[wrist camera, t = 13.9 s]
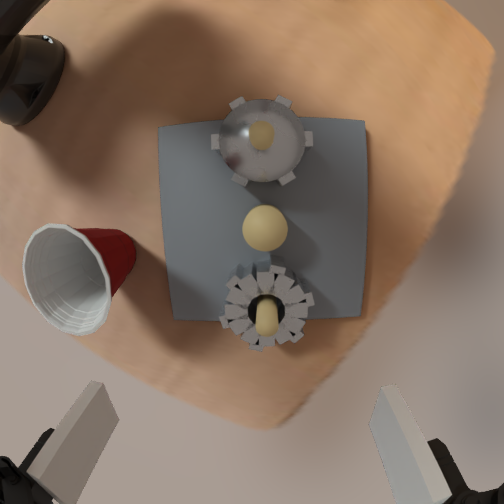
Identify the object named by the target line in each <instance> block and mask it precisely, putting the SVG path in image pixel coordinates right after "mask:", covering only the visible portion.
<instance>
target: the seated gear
mask: <svg viewBox="0 0 504 504" xmlns="http://www.w3.org/2000/svg"><path fill="white" fill-rule="evenodd" d="M291 105H292V101H290V100H288V99H286V98H284V97H282V96H280V95H278V96H277V98H276V100H275V101H273V100H267V99H256V100H251V101H247V102H246V101H245V100H244V98H243V97H242V96H241V97H239V98H237V99H236V100H234V101H232V102H231V103H229V106H230V108H231V110H232V111H231V112H230V113H229V114H228V115H227V116H226V118H225V119H224V121H223V123H222V125H221V128H220V132H219V134H211V150H213V151H214V152H216V153H218V154H221V155H222V157H223V159H224V161H225V163H226V164H227V165H228V167H229V168H230V169H231V170H232V171H234V172H235V173H234V175H233V177H232V178H231V180H233V181H235V182H237V183H238V184H240V185H242V186H244V187H248V186H249V184H250V182H251V181H255V182H270V181H274V180H277V182H278V183H279V185H280V186H283V185H285V184H286V183H288V182H290V181H291V180H293V179H295V178H296V177H295V175H294V174H293V172H292V170H293V169H294V168H295V167H296V166H297V165H298V163H299V161H300V160H301V158H302V156H303V153H304V152H307V151H308V150H309V149H311V148H312V147H313V133H312V131H304V128H303V126H302V123H301V121H300V120H299V118H298V117H297V116H296V114H295V113H294V112H293V111H292V110H291V109H290V108H291ZM257 121H266V122H268V123H270V124H271V125H272V126H273V128H274V131H275V135H274V140H273V144H272V145H271V147H269V148H268V149H266V150H258V149H256V148H255V147H253V145H252V144H251V141H250V138H249V134H248V132H249V128H250V126H251V125H252V124H253V123H255V122H257Z"/></svg>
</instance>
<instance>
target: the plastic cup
mask: <svg viewBox="0 0 504 504" xmlns="http://www.w3.org/2000/svg"><path fill="white" fill-rule="evenodd" d="M135 260H136V250H135V247H134V244H133V241H132V240H131V239H130V238H129V236H128V235H127V234H125V233H124V232H122V231H120V230H117V229H99V228H88V229H76V228H72V227H70V226H69V225H65V224H46V225H44V226H43V227H41V228H39V229H38V230H36V231H34V232H33V234H32V236H31V237H30V239H29V241H28V242H27V244H26V246H25V250H24V257H23V264H22V267H23V274H24V280H25V286H26V288H27V291H28V293H29V295H30V297H31V300H32V302H33V304H34V306H35V307H36V308H37V310H38V311H39V312H40V313H41V315H42V316H43V317H44V318H45V319H46V321H48V322H49V323H50V324H52V325H53V326H55V327H56V328H58V329H59V330H60V331H62V332H65V333H69V334H73V335H77V336H81V335H86V334H90V333H94V332H95V331H96V330H97V329H98V328H99V327H100V326H101V325H102V324H103V323H104V322H105V321H106V318H107V315H108V312H109V308H110V305H111V301H112V297H113V296H114V294H115V293H116V291H117V290H118V288H119V287H120V286H121V284H122V283H123V281H124V280H125V278H126V276H127V275H128V274H129V272H130V271H131V270H132V268H133V265H134V263H135Z"/></svg>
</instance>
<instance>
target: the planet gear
mask: <svg viewBox="0 0 504 504" xmlns="http://www.w3.org/2000/svg"><path fill="white" fill-rule="evenodd" d="M225 285H226V286H227V287H228V288H229V291H228V294H227V297H226V301H224V303H223V306H222V309H221V312H220V314H219V319H220V321H221V324H222V327H223V329H225V328H229V327H230V328H231V329H232V331H233V332H234V333H235V335H236V336H237V335H239V334H241V337H240V339H241V340H244V341H246V342H248V343H249V349H251V350H256V351H261V352H262V350H263V347H264V346H275V339H276V340H277V342H278V343H279V344H280V345H281V344H283V343H285V342H286V341H288V340H291V341H292V342H293V343H294V344H295V343H296V342H297V341H298V340H299V339H300V338H302V337H303V336H304V331H303V326H304V324H305V323H306V321H305V318H307V316H308V307H309V306H313V305H315V304H314V300H313V296H312V292H311V289H310V287H309V285H308V282H307V280H306V279H302V280H299V278H298V277H297V275H296V273H295V272H293V273H292V270H291V268H289V267H287V266H286V265H285V262H284V258H283V257H280V256H276V255H272V254H270V258H269V260H267V261H258V264H257V267H256V266H255V264H254V263H253V262H252V263H251V264H249V265H247V266H246V267H243V266H242V265H240V264H238V265H237V266H236V267H235V268H234V269H233V270H232V271H231V272H230V274H229V277H228V279H227V282H226V284H225ZM261 294H272V295H274V296H276V297H278V298H280V299H281V301H282V302H281V303H280V305H279V306H278V307H277V313H278V325H279V328H278V331H277V332H276V334H274V335H273V336H270V337H264V336H261V335H260V334H258V333H257V331H256V313H257V308H256V307H254V305H253V304H252V302H251V300H252V299H254V298H255V297H257V296H259V295H261Z"/></svg>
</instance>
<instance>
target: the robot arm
mask: <svg viewBox="0 0 504 504" xmlns="http://www.w3.org/2000/svg"><path fill="white" fill-rule="evenodd" d="M49 1H50V0H0V121H2V122H3V123H5V124H8V125H16V126H20V125H23V124H26V123H28V122H29V121H31V120H32V119H33V118H34V117H35V116H36V115H37V114H38V113H39V112H40V111H41V110H42V109H43V107H44V106H45V105H46V103H47V102H48V100H49V99H50V97H51V95H52V94H53V92H54V90H55V88H56V86H57V83H58V81H59V79H60V76H61V73H62V69H63V65H64V48H63V46H62V44H61V43H60V42H59V41H58V40H56V39H54V38H52V37H50V36H46V35H19V34H18V33H19V32H20V31H21V30H22V28H23V27H24V26H25V25H26V24H27V23H28V22H29V21H30V20H31V19H32V18H33V17H34V16H35V15H36V14H37V13H38V12H39V11H40V10H41V9H42V8H43V7H44V6H45V5H46V4H47V3H48V2H49ZM118 421H119V418H118V416H117V414H116V412H115V409H114V407H113V405H112V403H111V401H110V398H109V396H108V393H107V391H106V389H105V386H104V384H103V383H101V382H96V381H91V382H90V383H89V384H88V386H87V387H86V388H85V390H84V391H83V392H82V394H81V395H80V396H79V397H78V399H77V400H76V401H75V403H74V404H73V406H72V407H71V408H70V410H69V411H68V412H67V414H66V415H65V417H64V418H63V419H62V421H61V422H60V423H59V425H58V426H57V427H56V429H52V428H50V429H48V430H47V431H45V432H44V433H43V434H42V435H41V437H40V438H39V440H38V442H36V444H35V445H34V447H33V448H32V450H31V451H30V452H29V454H28V455H27V456H26V458H25V459H24V461H23V462H22V464H21V465H20V466H19V467H18V468H17V467H16V466H15V464H14V463H13V462H12V461H11V460H10V459H9V458H8V457H5V456H0V504H53V502H52V499H53V498H54V499H55V500H56V501H57V502H58V503H59V504H76V503H77V501H78V499H79V497H80V495H81V493H82V490H83V489H84V487H85V485H86V483H87V481H88V478H89V477H90V475H91V473H92V471H93V469H94V467H95V465H96V463H97V461H98V459H99V457H100V455H101V453H102V451H103V450H104V447H105V445H106V444H107V442H108V440H109V438H110V436H111V434H112V433H113V431H114V429H115V427H116V425H117V423H118ZM369 426H370V429H371V432H372V434H373V437H374V440H375V443H376V445H377V448H378V451H379V454H380V457H381V460H382V463H383V466H384V469H385V472H386V474H387V477H388V481H389V483H390V487H391V490H392V493H393V496H394V499H395V502H396V504H504V483H503V484H502V485H501V486H500V487H499V488H497V489H493V490H489V491H485V492H477V491H475V490H470V489H469V488H468V486H467V485H466V483H465V481H464V479H463V477H462V475H461V473H460V471H459V469H458V467H457V466H456V463H455V462H454V460H453V458H452V456H451V455H450V452H449V451H448V449H447V447H446V445H445V444H444V443H442V442H441V441H440V440H439V439H437V438H436V439H434V440H431V441H428V442H427V441H426V439H425V438H424V435H423V433H422V431H421V430H420V428H419V426H418V424H417V422H416V420H415V418H414V416H413V414H412V413H411V411H410V409H409V407H408V405H407V404H406V402H405V400H404V398H403V396H402V394H401V393H400V391H399V389H398V387H397V386H396V384H392V385H387V386H382V387H381V389H380V392H379V395H378V398H377V402H376V405H375V408H374V411H373V414H372V417H371V420H370V423H369Z"/></svg>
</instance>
